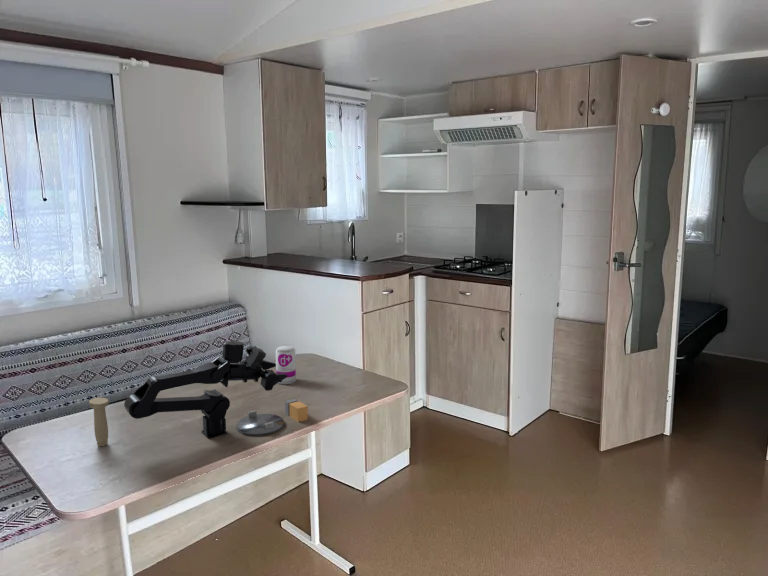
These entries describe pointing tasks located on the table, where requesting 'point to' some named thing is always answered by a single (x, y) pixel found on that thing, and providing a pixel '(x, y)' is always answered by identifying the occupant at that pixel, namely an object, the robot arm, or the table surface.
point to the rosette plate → (259, 424)
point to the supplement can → (286, 363)
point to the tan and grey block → (296, 410)
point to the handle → (100, 420)
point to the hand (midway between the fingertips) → (281, 370)
